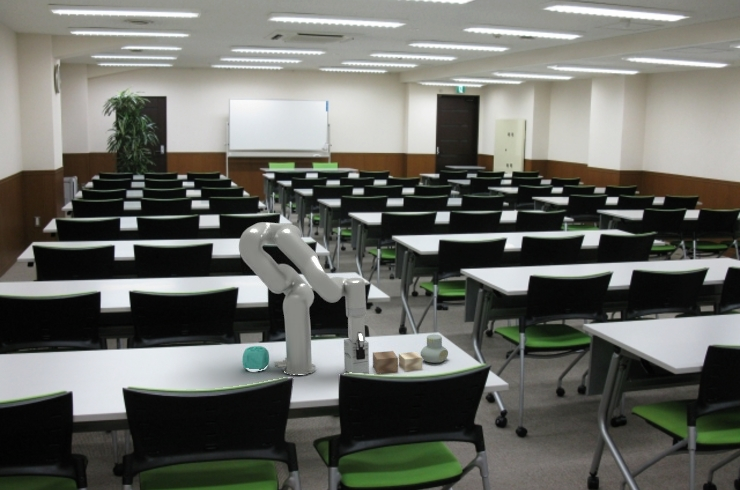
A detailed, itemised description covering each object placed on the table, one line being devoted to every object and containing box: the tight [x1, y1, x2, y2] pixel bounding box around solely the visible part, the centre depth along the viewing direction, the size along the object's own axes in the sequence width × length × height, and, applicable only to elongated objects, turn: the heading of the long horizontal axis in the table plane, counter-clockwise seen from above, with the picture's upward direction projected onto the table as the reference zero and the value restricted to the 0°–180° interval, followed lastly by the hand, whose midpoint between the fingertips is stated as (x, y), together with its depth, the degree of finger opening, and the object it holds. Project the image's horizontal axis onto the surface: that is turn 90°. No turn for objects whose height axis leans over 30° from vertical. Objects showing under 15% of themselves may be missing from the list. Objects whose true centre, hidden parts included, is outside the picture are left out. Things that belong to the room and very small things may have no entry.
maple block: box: [398, 351, 423, 373], centre depth 279 cm, size 7×7×5 cm
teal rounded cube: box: [241, 345, 270, 370], centre depth 280 cm, size 8×8×8 cm
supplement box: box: [343, 338, 370, 374], centre depth 274 cm, size 7×7×13 cm
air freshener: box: [420, 333, 449, 364], centre depth 286 cm, size 11×8×10 cm
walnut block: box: [372, 350, 399, 375], centre depth 277 cm, size 8×8×6 cm
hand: (358, 355), depth 274 cm, fingers open, 9 cm apart
